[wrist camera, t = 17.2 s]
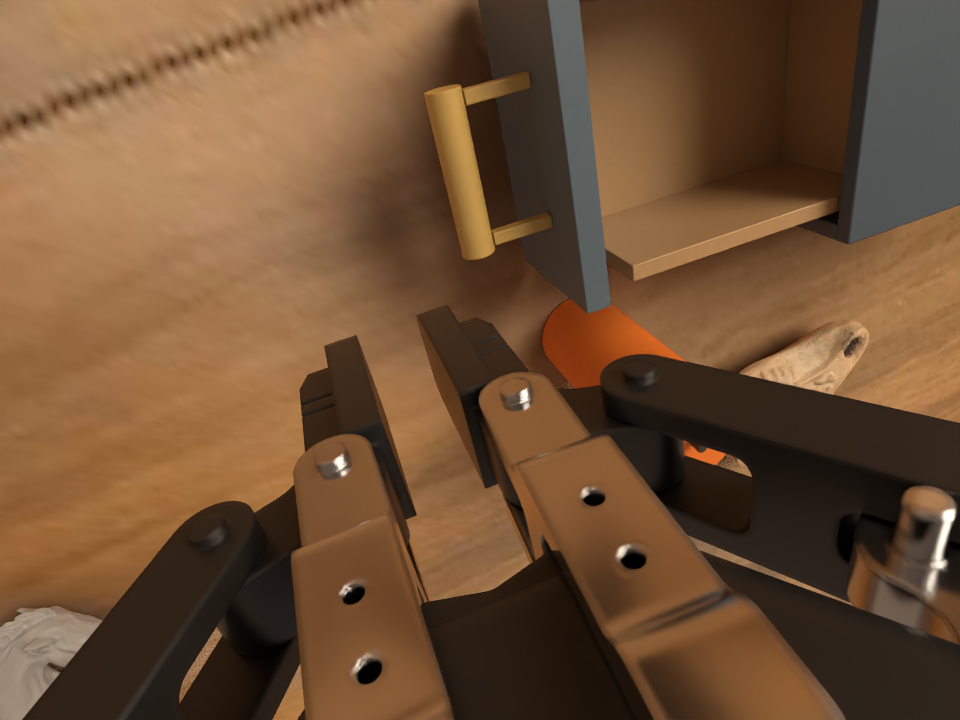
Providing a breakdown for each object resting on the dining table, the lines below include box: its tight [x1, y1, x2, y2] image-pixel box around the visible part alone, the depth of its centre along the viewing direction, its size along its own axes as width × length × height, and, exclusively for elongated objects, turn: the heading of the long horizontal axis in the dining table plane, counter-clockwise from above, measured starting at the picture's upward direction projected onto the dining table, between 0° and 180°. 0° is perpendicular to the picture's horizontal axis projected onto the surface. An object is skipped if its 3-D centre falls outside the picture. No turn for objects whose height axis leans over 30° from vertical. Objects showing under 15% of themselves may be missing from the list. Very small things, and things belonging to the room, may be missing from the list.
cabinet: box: [797, 0, 960, 244], centre depth 30 cm, size 18×15×10 cm
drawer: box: [424, 0, 863, 314], centre depth 28 cm, size 21×13×8 cm, turn 102°
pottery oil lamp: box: [725, 320, 869, 468], centre depth 42 cm, size 9×12×7 cm
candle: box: [542, 299, 726, 465], centre depth 33 cm, size 5×5×13 cm
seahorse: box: [0, 606, 103, 720], centre depth 38 cm, size 5×12×20 cm
